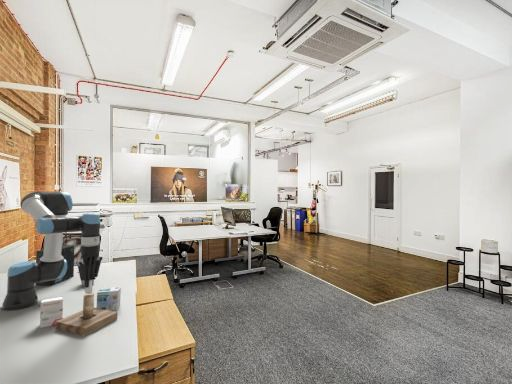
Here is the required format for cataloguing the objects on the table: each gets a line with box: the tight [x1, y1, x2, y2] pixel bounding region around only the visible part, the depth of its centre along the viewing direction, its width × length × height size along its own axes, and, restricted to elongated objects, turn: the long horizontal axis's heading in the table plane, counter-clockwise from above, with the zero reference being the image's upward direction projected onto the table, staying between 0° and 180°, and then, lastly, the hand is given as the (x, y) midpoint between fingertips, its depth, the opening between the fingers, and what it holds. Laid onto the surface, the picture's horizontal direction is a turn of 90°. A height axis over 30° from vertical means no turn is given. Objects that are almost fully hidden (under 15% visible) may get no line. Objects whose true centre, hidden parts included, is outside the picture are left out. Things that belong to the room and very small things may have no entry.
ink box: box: [39, 296, 64, 329], centre depth 130 cm, size 9×5×12 cm, turn 125°
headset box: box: [34, 244, 75, 287], centre depth 195 cm, size 22×12×26 cm, turn 179°
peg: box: [82, 292, 95, 320], centre depth 131 cm, size 4×4×14 cm
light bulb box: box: [96, 286, 122, 312], centre depth 149 cm, size 11×7×11 cm, turn 105°
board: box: [55, 307, 118, 337], centre depth 131 cm, size 18×18×4 cm
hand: (88, 293), depth 131 cm, fingers closed
